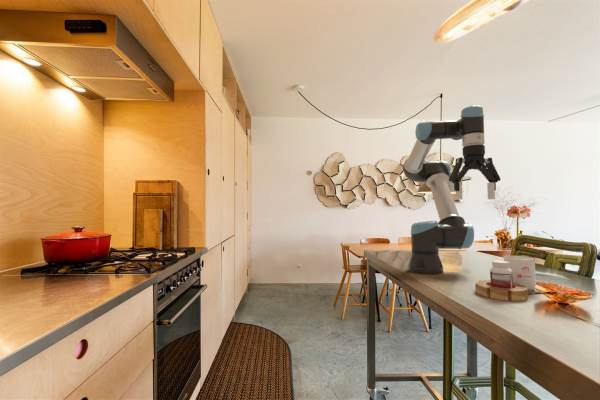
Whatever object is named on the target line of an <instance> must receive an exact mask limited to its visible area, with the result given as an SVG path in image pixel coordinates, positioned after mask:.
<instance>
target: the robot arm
mask: <svg viewBox="0 0 600 400" xmlns="http://www.w3.org/2000/svg"><path fill="white" fill-rule="evenodd" d="M460 113H461V114H460V119H458V120H441V121H439V120H438V121H424V122H423V121H421V122H418V123H417V124H416V128H415V131H414V133H415V138H416V141H415V143H414V145H413V148H412V149H411V153H410V154H409V157H408V158H407V159H405V161H404V162H403V165H402V171H403V175H404V176H405V177H406V178H407V179H408V180H410V181H412V182H416V183H425V185H426V186H427V187H428V188H430V191H431V194H432V197H433V201H434V205H435V208H436V211H437V214H438V217H439V221H438V220H428V221H420V222H419V221H418V222H415V223H413V224H412V225H411V226H410V237H411V238H410V239H411V241H410V243H411V256H410V259H409V261H408V265H407V266H408V267H407V269H408V270H407V271H408V272H412V273H414V274H422V275H441V274H443V273H444V266H443V264H442V261H441V258H440V256H439V250H443V249H445V250H449V249H450V250H451V249H453V250H455V249H456V250H463V249H470V248H471V247H472V245H473V243H474V240H475V229H474V227H473V225H472V224H471V223H469V222H467V223H466V221H465V218H464V217H463V216H460V215H459V211H458V209H457V206H456V203H455V201H454V198H453V195H452V192H451V190H450V187H449V184H448V183H449V182H451V183H452V184H453V190H454V192H455V199H456V200H463V199H464V198H463V182H461V181H462V180H463V178H464V177H465V175H466V174H467V173H468V171H469V170H478V171H479V172H480V173H481V174H482V175H483V177H484V178H485V179H486V181H488V182H487V183H486V185H487V200H495V199H496V190H497V185H496V184H497V183H498V182H500V181H501V177H500V175H499V173H498V171H497V168H496V167H495V165H494V163H493V158H492V157H487V158H485V155H486V145H484V144H485V121H484V120H485V117H484V116H485V115H484V108H483V107H482V105H470V106H467V107H465V108H463V109H462V110H461V112H460ZM442 139H443V140H444V139H446V140H447V139H451V140H453V141H459V140H461V144H462V145H461V146H462V156H461V157H458V158H455V164H454V166H453V168H451V165H450V164H449V162H448V161H446V160H440V159H439V160H437V159H436V160H426V158H427V156H428V154H429V153H430V151H431V150H432V147H433V145H434V143H435V142H436V141H437V140H442ZM463 164H464V165H463ZM451 170H452V171H451Z"/></svg>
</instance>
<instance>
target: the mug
mask: <svg viewBox="0 0 600 400" xmlns="http://www.w3.org/2000/svg"><path fill="white" fill-rule="evenodd" d="M535 259H536V258H534V257H531V256H525V255H504V256H503V261H506V262H509V267H508V268H509V269H511V270H512V277H513V283H516V284H520V285H523V286H525V287H527V292H533V291H534V290H535V289H536V288H535V286H536V287H537V284H536V283H537V280H536V279H537V278H536V261H535Z"/></svg>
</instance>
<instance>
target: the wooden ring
mask: <svg viewBox="0 0 600 400" xmlns="http://www.w3.org/2000/svg"><path fill="white" fill-rule="evenodd" d="M474 285H475V293H476V294H478V295H481V296H483V297H486V298H490V299H493V300H494V299H495V300H501V301H507V302H508V301H512V302H516V301H517V302H518V301H519V302H521V301H528V294H527V292H528V291H527V287H525V286H523V285H520V284H516V283H513V288H508V289H505V288H497V287H492V286H491V279H484V280H482V279H481V280H480V279H479V280H476V282H475V284H474Z"/></svg>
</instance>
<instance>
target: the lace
mask: <svg viewBox="0 0 600 400" xmlns="http://www.w3.org/2000/svg"><path fill="white" fill-rule="evenodd" d="M527 295H541V292H539V291H538V290H537V291H527Z"/></svg>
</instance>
